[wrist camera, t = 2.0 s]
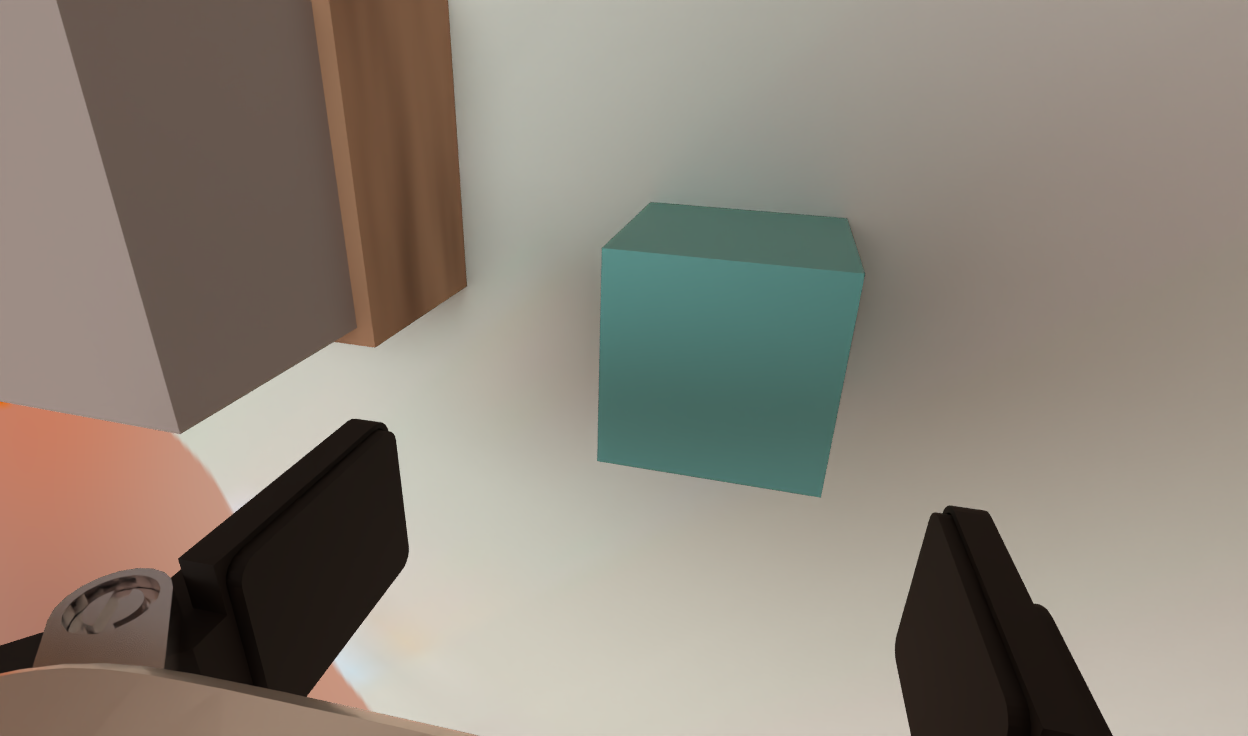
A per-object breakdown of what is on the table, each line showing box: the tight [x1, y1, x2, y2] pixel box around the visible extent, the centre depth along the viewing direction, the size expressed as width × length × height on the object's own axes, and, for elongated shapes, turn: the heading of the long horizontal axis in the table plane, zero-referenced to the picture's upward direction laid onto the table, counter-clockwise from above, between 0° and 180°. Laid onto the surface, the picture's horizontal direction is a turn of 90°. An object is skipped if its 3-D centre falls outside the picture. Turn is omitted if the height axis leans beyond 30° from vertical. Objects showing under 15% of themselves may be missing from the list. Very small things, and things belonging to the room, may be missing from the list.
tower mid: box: [0, 0, 357, 434], centre depth 15 cm, size 8×8×6 cm
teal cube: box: [597, 202, 865, 497], centre depth 19 cm, size 6×6×6 cm
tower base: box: [310, 0, 467, 347], centre depth 20 cm, size 9×9×6 cm
